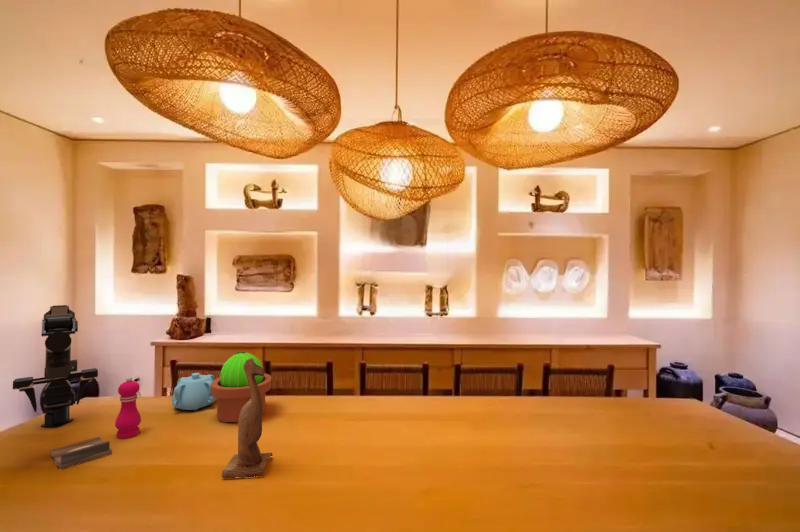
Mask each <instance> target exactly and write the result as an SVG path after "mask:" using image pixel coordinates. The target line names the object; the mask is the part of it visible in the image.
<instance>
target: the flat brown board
mask: <svg viewBox="0 0 800 532" xmlns="http://www.w3.org/2000/svg"><path fill="white" fill-rule="evenodd" d="M50 454H51V455H50ZM109 454H110V455H112V454H113V450H112V448H110V441H109V440H107V441H104V440H103V439H102V438H101V437H100V436H97V437H93V438H90V439H86V440H83V441H78V442H76V443H72V444H68V445H65V446H61V447H58V448H54V449H51V450H49V455H50V457H51V456H52V457H53V459H54V460H53V459H52V460H53V462H54V461H55V462H56V464H57V465H56V464H55V465H56V466H58V467H59V468H58V467H57V468H58V470H59V469H62V470H64V469H63V468H65V469H67V468H66V467H68V468H70V467H69V466H71V467H73V466H72V465H75V466H77V465H76V464H78V465H80V464H79V463H81V464H83V462H84V463H87V462H90V461H89V460H91V461H93V460H92V459H94V460H96V459H95V458H97V459H100V458H102V456H103V457H106V456H110V455H109ZM105 455H106V456H105ZM52 457H51V458H52ZM99 457H100V458H99ZM86 461H87V462H86ZM55 462H54V463H55Z"/></svg>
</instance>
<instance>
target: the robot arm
mask: <svg viewBox="0 0 800 532" xmlns="http://www.w3.org/2000/svg"><path fill="white" fill-rule="evenodd" d="M41 321H42V322H41V334H40V335H41V337H46V339H45V341H44V347H45V359H44V360H45V361H44V362H45V364H44V365H45V367H44V372H43V373H44V376H43V377H37V378H36V377H35V378H34V376H28V377H26V376H25V377H20V378H15V379H14V380H13V381H12V390H18V391H19V392H20V393H22V392H24V393H25V394H26V396H27V398H28V399H29V401H30V404H31V407H32V409H33V412H34V413H37V412H38V405H37V399H36V398H37V397H36V392H35V387H34V386H36V385H42V384H46V386H45V388H44V393H42V395H41V411H42V412H44V413H45V414H44V423H43V424H41V425H40V428H41V427H42V428H43V427H44V428H58V427H61V426H63V425H65V424H67V423H70V422H72V421H74V418H71V417H70V407H72V406H74V405H79V403H80V401H81V399H82V395H83V393H84V390H85V388H86V386H87V384H88V383H89V382H92V381H93V379H96V378H98V377H99V370H98V369H97V368H94V367H93V368H87V369H81V371H79V372H77V371H78V359H71V357H72V354H71V353H72V350H71V349H72V347H71V346H72V338H71V335H76V332H78V330H79V329H78V326H79V325H78V320H77V318H76V313H75V312H74V311H73V310H71V309H70V305H67V304H63V305H62V304H61V305H52V306H49V310H48V311H46V312H45V313H44V314H43V319H42V320H41ZM77 379H80V380H79V383H78V389H77V394H76V391H75V390H74V388H72V385H71V382H70V381H71V380H77Z"/></svg>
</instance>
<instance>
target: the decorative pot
mask: <svg viewBox="0 0 800 532" xmlns="http://www.w3.org/2000/svg"><path fill="white" fill-rule="evenodd" d="M215 379H216V378H215V376H214V375H213V374H207V375H205V374H201V373H200V372H194V373H191V375H190V376H186V377H184V376H183V377H180V378H178V380H177V383H176V386H175V387H174V389H173V395H172V398H171V402H172V406H173V408H176V409H180V410H186V411H188V410H189V411H191V410H196V411H198V410H199V409H201V408H205V407H206V406H211V404H212V403H214V401H216V400H217V398H216V397H213V396H212V395H211V383H212V382H213V381H214V380H215ZM197 409H198V410H197Z"/></svg>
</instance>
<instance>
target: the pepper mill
mask: <svg viewBox="0 0 800 532" xmlns="http://www.w3.org/2000/svg"><path fill="white" fill-rule="evenodd" d="M139 391H140V384H139V382H138V381H135V380H133V377H132V376H127V377H126V378H125V381H123V382H122V383H120V384H119V386H118V388H117V392H118V394H119V402H120V410H119V412H118V415H117V416H116V418H115V419H116V420H115V424H114V426H115V428H116V430H117V431H116V439H119V440H120V439H124V440H125V439H129V438H133V437H136V436H137V435H139V434H140V427H139V425H140V424H141V422H142V416H141V414H140V412H139V410H138V407H137V399H138V393H139Z"/></svg>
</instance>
